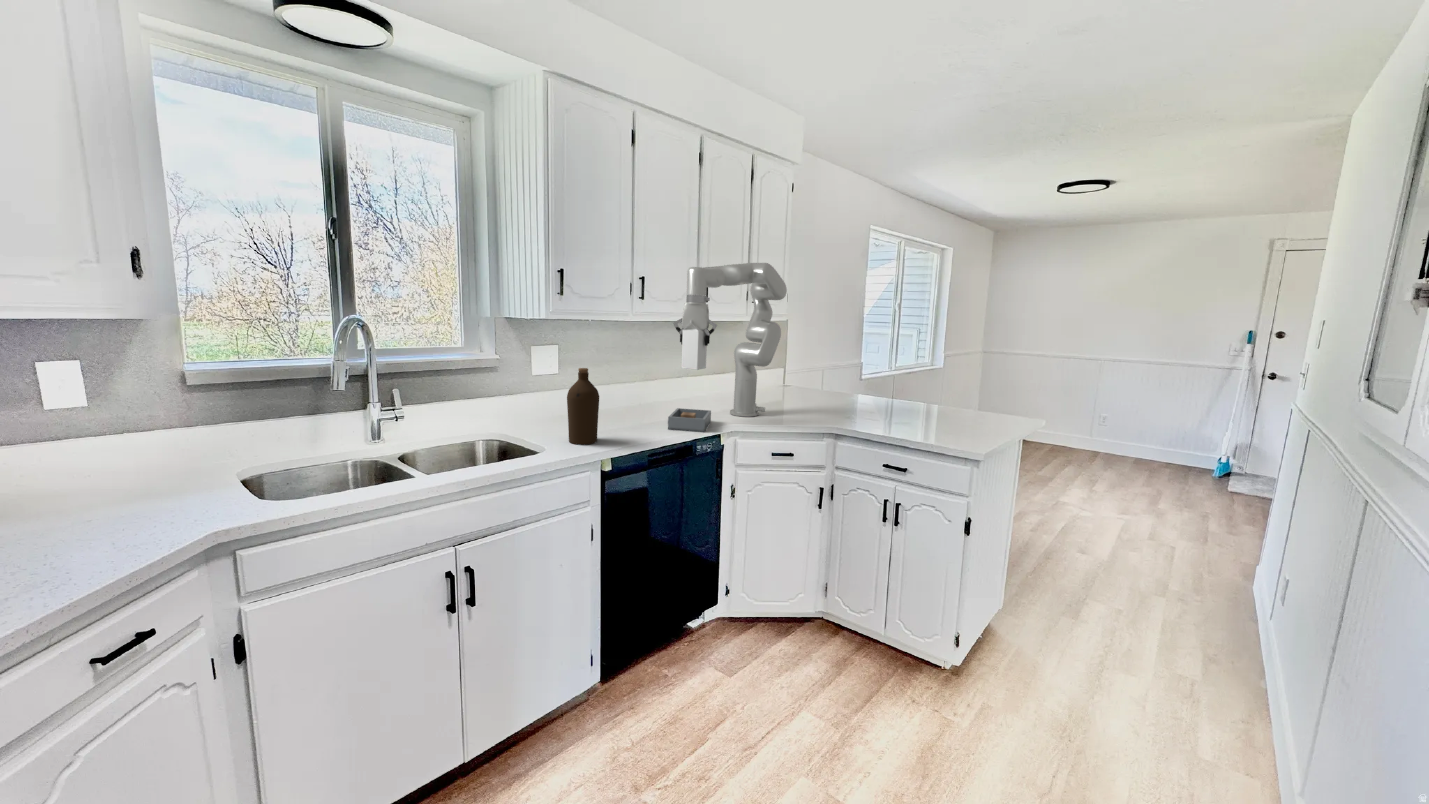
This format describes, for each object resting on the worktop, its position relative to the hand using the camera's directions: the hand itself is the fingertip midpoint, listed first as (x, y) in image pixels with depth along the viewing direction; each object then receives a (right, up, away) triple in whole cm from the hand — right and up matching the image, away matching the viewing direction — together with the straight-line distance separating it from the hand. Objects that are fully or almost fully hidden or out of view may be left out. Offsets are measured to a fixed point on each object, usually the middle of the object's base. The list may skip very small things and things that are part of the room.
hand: (694, 344), depth 225 cm
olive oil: (-37, -36, -28) cm, 59 cm away
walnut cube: (-3, -32, -2) cm, 32 cm away
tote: (-2, -32, +2) cm, 32 cm away
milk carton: (0, -9, +2) cm, 10 cm away
